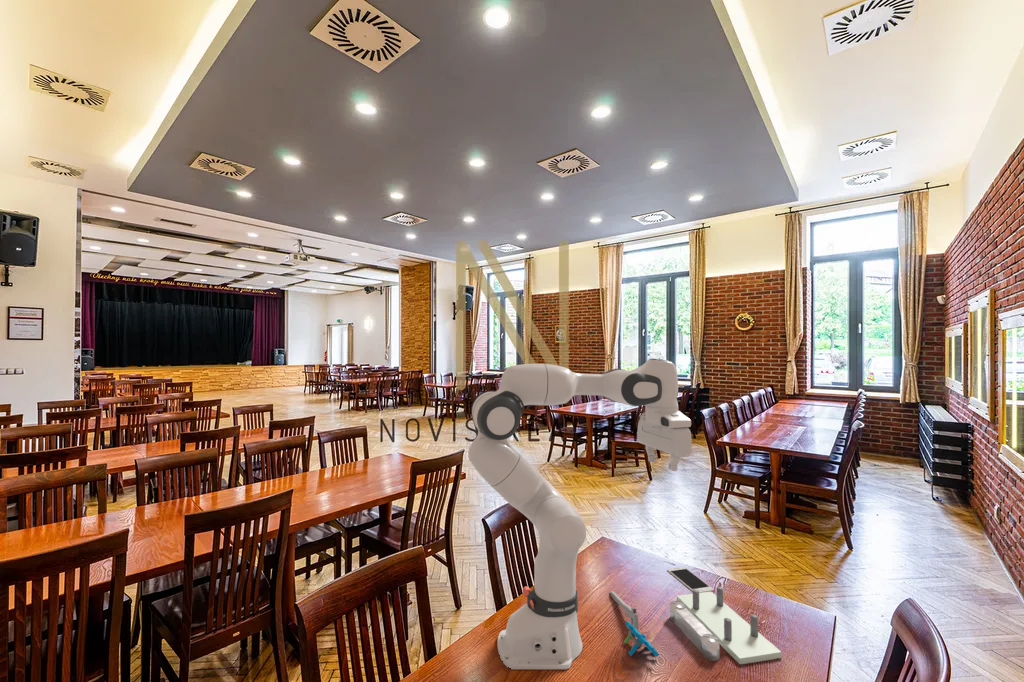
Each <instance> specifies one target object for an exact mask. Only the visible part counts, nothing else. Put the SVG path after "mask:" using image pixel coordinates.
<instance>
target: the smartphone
mask: <svg viewBox="0 0 1024 682" xmlns="http://www.w3.org/2000/svg"><path fill="white" fill-rule="evenodd" d="M666 570H667V572H668V573H669V574H671V575H672V576H673V577H674V578H675V579H677V580H678V581H679V582H680V583H681V584H683V585H684V586H685V587H687V589H689V591H691V592H692V593H693V590H694V589H695V590H698V591H699V593H703V592H712V593H713V592H715V591H714V590H715V589H714V588H713V587H711V586H710V585H709V584H708V583H706V582H705V581H704V580H702V579H701V578H700V577H698V576H697V575H696V574H695V573H693V572H692V571H691V570H689V569H688V568H687V567H685V566H680V567H673V568H667V569H666Z"/></svg>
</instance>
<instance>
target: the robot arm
mask: <svg viewBox="0 0 1024 682" xmlns="http://www.w3.org/2000/svg"><path fill="white" fill-rule="evenodd" d="M677 371H678V370H677V367H676V365H675V364H674V362H672V361H671V360H667V359H659V358H649V359H647V360H646V362H645V363H643V364H642V365H640V366H638V367H636V368H634V369H631V370H625V369H622V368H613V369H610V370H608V371H604V372H602V373H578V372H574V371H571V370H570V369H569V368H568V367H565V366H562V365H561V366H560V365H557V364H551V363H550V364H549V363H523V364H516V365H511V366H509V367H506V369H505V370H504V371H503V373H502V375H501V378H500V385H499V388H498V389H497V390H486V391H483V392H481V393H479V394H477V396H476V397H475V398H474V400H473V401H472V403H471V407H470V414H471V419H472V422H473V424H474V430H475V432H476V433H477V436H476V437H475V438H474V440H473V441H472V442H471V444H470V446H469V448H468V454H467V456H468V460H469V462H470V463H471V464H472V466H473V467H474V469H475V470H476V471H477V473H478V474H479V475H480V476H481V478H483V479H484V481H485V482H486V483H487V484H488V485H489V486H490V487H491V488H492V489H493V490H494V491H495V492H496V493H498V494H499V495H500V497H502V498H503V500H504V501H506V502H507V503H508V504H509V505H510V506H511V507H513V508H514V509H516V510H517V511H518V512H520V513H521V514H522V515H524V517H526V518H527V520H529V521H530V522H531V523H532V524H533V526H534V527H535V528H536V530H537V532H538V536H539V545H538V551H537V555H536V556H535V558H534V571H533V572H534V573H533V574H534V579H533V580H534V587H533V588H532V590H531V589H530V587H529V586H523V588H522V593H523V595H524V597H526V598H527V599H526V603H524V604H523V605H522V606H521V607H519V608H518V609H517V610H516V611H515V612H512V614H510V616H509V617H508V619H507V623H506V628H505V629H502V630H501V631H500V632H499V634H498V636H497V645H496V646H497V652H498V655H500V656H499V658H500V660H501V662H502V661H503V662H502V664H503V665H505V667H506V668H508V667H509V668H511V669H510V670H568V669H570V668H571V666H572V663H573V661H575V659H576V658H578V657H579V656H580V655H581V653H582V652H583V651H582V650H583V642H582V639H581V634H580V630H579V624H578V614H577V613H578V609H579V597H578V596H579V595H578V590H577V558H578V555H579V550H580V549H581V547H582V546H583V545H584V542H585V540H586V538H587V528H586V525H585V522H584V520H583V518H582V516H581V514H580V512H579V511H578V510H577V509H576V508H575V507H574V506H573V505H572V504H571V503H570V502H569V501H568V500H567V498H566V497H564V496H563V495H562V493H560V491H558V490H557V489H556V488H555V487H554V486H553V485H552V484H551V483H550V482H549V481H548V480H547V479H546V478H545V476H542V474H541V473H540V472H539V471H538V470H537V469H536V468H535V467H534V466H533V465H532V464H530V462H529V461H527V459H525V457H524V456H522V454H520V453H519V452H518V451H517V450H516V449H515V448H514V447H513V445H511V444H510V442H509V441H508V439H509V438H511V437H512V436H513V435H514V434H515V433H516V432H517V430H518V428H519V425H520V423H521V420H522V416H523V415H524V410H525V406H556V405H557V406H558V405H563V404H564V405H565V404H567V403H569V402H570V400H571V399H572V398H573V397H574V396H599V397H600V396H601V397H603V398H605V399H606V400H608V401H610V402H614V403H620V404H623V405H627V406H631V407H640V406H641V407H642V406H644V407H645V408H644V409H645V411H644V412H643V413H642V414H641V415H640V416H639V420H638V423H637V431H636V432H637V433H636V439H637V442H638V443H639V444H642V445H643V446H644V445H645V451H646V454H647V455H648V457H647V461H648V462H651V463H656V462H657V455H656V454H655V450H658V451H661V452H663V453H666V454H669V455H670V458H671V461H670V462H669V463H668V470H669V471H672V472H676V471H678V464H679V462H680V460H681V458H687V457H690V455H691V453H692V450H693V449H692V446H693V445H692V441H693V440H692V432H691V429H690V428H691V426H692V420H691V419H690V418H689V417H688V416H687V415H685V414H684V413H683V412H681V410H679V402H678V399H677V398H678V397H677V396H678V393H679V378H678V377H679V376H678V372H677ZM509 668H508V669H509Z"/></svg>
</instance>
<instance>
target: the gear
mask: <svg viewBox="0 0 1024 682" xmlns="http://www.w3.org/2000/svg"><path fill="white" fill-rule="evenodd" d="M625 626H626V627H627V629H629V630H628V632H627V633H628V635H627V637H626V638H625V639H624V640H623V643H624V644H625V645H626V644H627V643H628V642H629V641H631V639H632V640H633V642H635V643H634V644H633V646H632V647H631V648H630V650H629V651H628V654H629V656H630V657H632V656H634V654H635V653H636V651H637V650H638V649H639V648H641V647H642V645H644V646H645V647H646V649H648V651H649V652H651V653H652V654H653V655H654V656H655V657H658V656H659V655H660V653H659V652H658V651H657V650H656V648H655V647H654V646H653V645H652V644H651V643H650V642H649V641H648V640H647V639H646V635H645V634H644V633H640V632H639V630H638V631H637V629H636V628H635V627H634V626H633V625H632V624H631V622H629V621H625Z"/></svg>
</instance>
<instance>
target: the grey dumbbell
mask: <svg viewBox="0 0 1024 682" xmlns="http://www.w3.org/2000/svg"><path fill="white" fill-rule="evenodd" d="M669 619H670V621H672V622H673V623H674V624H675V625H676V626H677V627H678V628H679V629H680V631H682V632H683V634H684V635H685V636H686V637H687V639H688V640H690V642H692V644H693V645H694V646H695V647H696V648H697V649H698V651H699V652H701V655H702V656H703V658H705V659H707V660H709V661H713V662H716V661H718V660H720V644H719V639H718V638H717V637H715V636H713V635H712V634H711V633H710V632H709V631H708V630H707V629H706V628H705V627H704V626H703V625H702V624H701V623H700V622H699V621H698V620H697V619H696V618H695V617H694V616H693V615H692V614H691V613H690V612H689V611H688V610H687V609H686V608H685V605H684V604H683V603H681V602H678V601H677V600H674V601H670V602H669Z"/></svg>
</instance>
